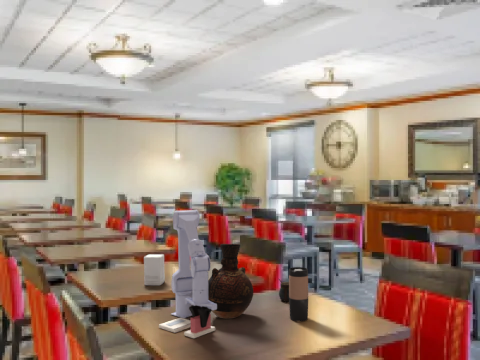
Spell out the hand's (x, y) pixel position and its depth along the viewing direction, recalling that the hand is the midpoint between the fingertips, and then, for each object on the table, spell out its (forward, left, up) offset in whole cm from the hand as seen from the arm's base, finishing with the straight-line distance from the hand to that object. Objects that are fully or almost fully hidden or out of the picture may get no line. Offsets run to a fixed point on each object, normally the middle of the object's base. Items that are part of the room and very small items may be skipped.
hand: (200, 326), depth 170 cm
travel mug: (-37, +18, -3) cm, 41 cm away
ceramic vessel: (-22, -6, -3) cm, 23 cm away
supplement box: (-40, -75, -3) cm, 85 cm away
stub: (0, 0, -3) cm, 3 cm away
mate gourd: (-56, -1, -3) cm, 56 cm away
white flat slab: (0, -13, -3) cm, 13 cm away
